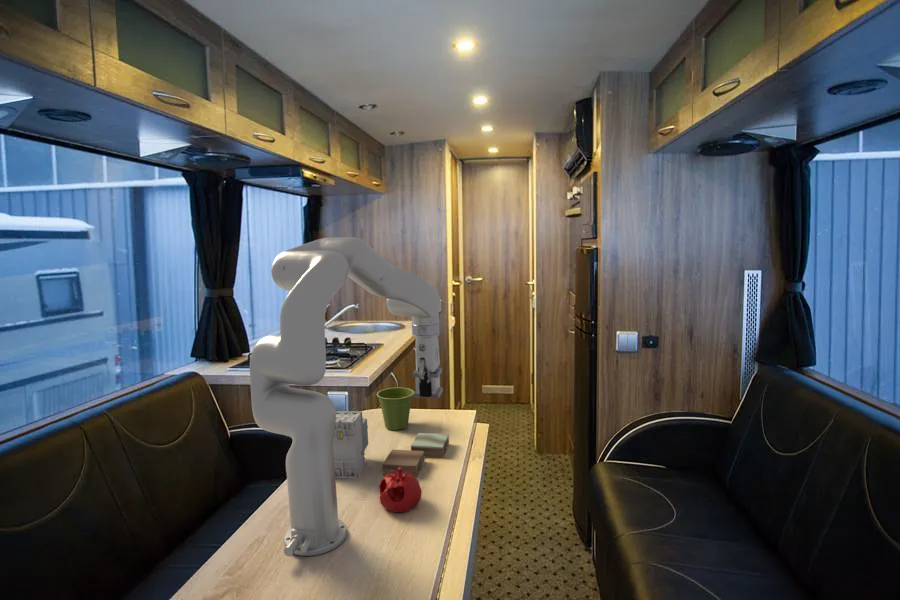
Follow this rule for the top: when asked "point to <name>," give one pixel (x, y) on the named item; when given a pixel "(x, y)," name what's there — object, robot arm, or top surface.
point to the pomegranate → (399, 491)
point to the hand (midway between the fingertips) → (428, 391)
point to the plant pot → (395, 406)
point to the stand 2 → (431, 444)
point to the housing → (435, 384)
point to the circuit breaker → (349, 443)
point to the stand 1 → (404, 462)
